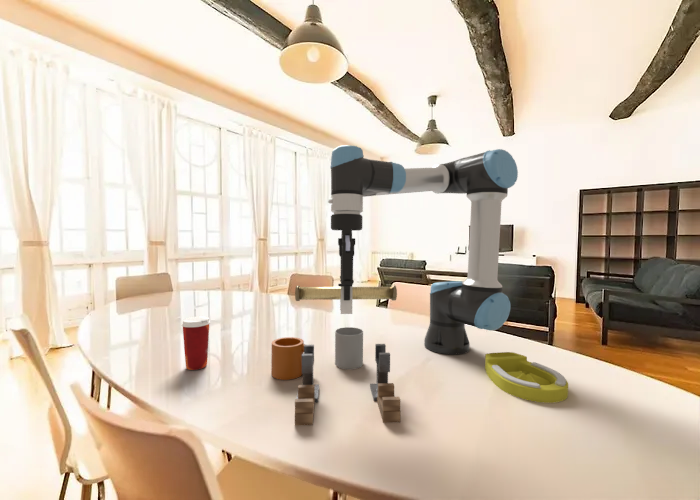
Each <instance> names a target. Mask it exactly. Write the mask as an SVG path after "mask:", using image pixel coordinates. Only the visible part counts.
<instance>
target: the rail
mask: <svg viewBox="0 0 700 500" xmlns="http://www.w3.org/2000/svg"><path fill="white" fill-rule="evenodd" d="M294 289H295V290H294V299H295V302H300V301H303V300H305V301H307V300H308V301H314V300H315V301H316V300H317V301H318V300H320V301H321V300H322V301H323V300H324V301H325V300H327V301H328V300H330V301H332V300H336V301H338V300H339V301H340V300H341V287H340V286H300V285H295V288H294ZM397 295H398V289H397V286H396V285H391V286H353V287H352V300H391V301H396V300H397Z"/></svg>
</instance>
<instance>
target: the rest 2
mask: <svg viewBox="0 0 700 500" xmlns="http://www.w3.org/2000/svg"><path fill="white" fill-rule="evenodd" d="M394 396H395V384H394V383H393V382H388V383H378V393H377V401H376V403H377V407H378V409H379V413H380V417H381V421H382V423H383V424H387V423H388V424H390V423H401V398H400V396H395V397H394Z"/></svg>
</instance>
